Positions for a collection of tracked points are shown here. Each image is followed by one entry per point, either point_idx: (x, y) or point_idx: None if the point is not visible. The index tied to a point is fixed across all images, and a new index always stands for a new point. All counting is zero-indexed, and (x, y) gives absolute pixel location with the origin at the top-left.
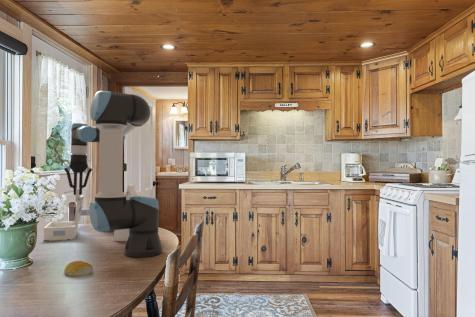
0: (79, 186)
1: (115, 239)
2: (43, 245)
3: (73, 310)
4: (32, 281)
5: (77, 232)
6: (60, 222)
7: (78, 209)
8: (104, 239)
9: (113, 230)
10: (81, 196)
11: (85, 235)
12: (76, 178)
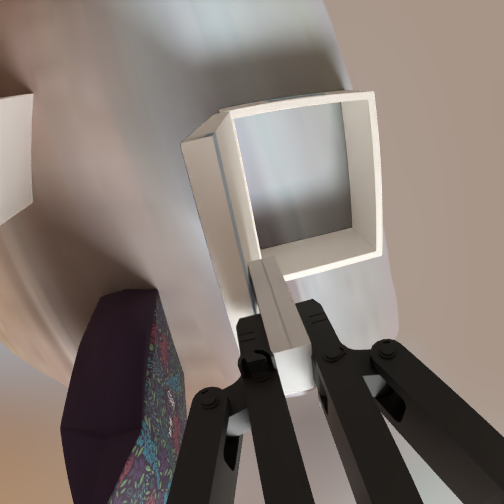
0: (276, 381)
1: (24, 94)
2: (312, 2)
3: None
4: None
5: None
6: (339, 259)
7: (202, 126)
8: (76, 115)
9: (108, 295)
10: None
11: None
12: (360, 472)
